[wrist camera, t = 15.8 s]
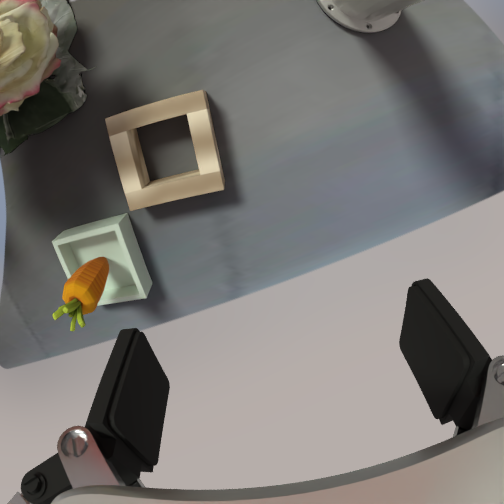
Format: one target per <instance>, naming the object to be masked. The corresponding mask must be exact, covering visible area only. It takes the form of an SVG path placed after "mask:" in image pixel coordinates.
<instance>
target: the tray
mask: <svg viewBox="0 0 504 504" xmlns="http://www.w3.org/2000/svg"><path fill="white" fill-rule="evenodd" d="M52 243H53V246H54V248H55V250H56V253H57V255H58V258H59V260H60V262H61V264H62V267H63V269H64V271H65V273H66V275H67V277H68V279H69V278H70V277H71V276H72V275H73V274H74V272H75V271H76V270H77V269H78V268H80V267H81V266H82V265H84V264H85V263H87V262H88V261H90V260H93V259H95V258H98V257H105V258H107V260H108V263H109V273H108V277H107V281H106V285H105V288H104V291H103V294H102V296H101V298H100V300H99V302H98V304H97V306H98V305H105V304H111V303H118V302H125V301H131V300H138V299H144V298H147V296H148V293H149V291H150V288H151V286H152V280H151V278H150V275H149V273H148V270H147V267H146V265H145V262H144V259H143V256H142V254H141V251H140V248H139V245H138V242H137V239H136V237H135V234H134V231H133V228H132V225H131V222H130V219H129V216H128V213H125V214H121V215H117V216H113V217H110V218H106V219H102V220H99V221H95V222H91V223H88V224H84V225H81V226H77V227H74V228H70V229H67V230H64V231H63V232H62V233H60V234H59V235H58V236H57V237H56V238H55V239H54V240H53V241H52Z"/></svg>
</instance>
